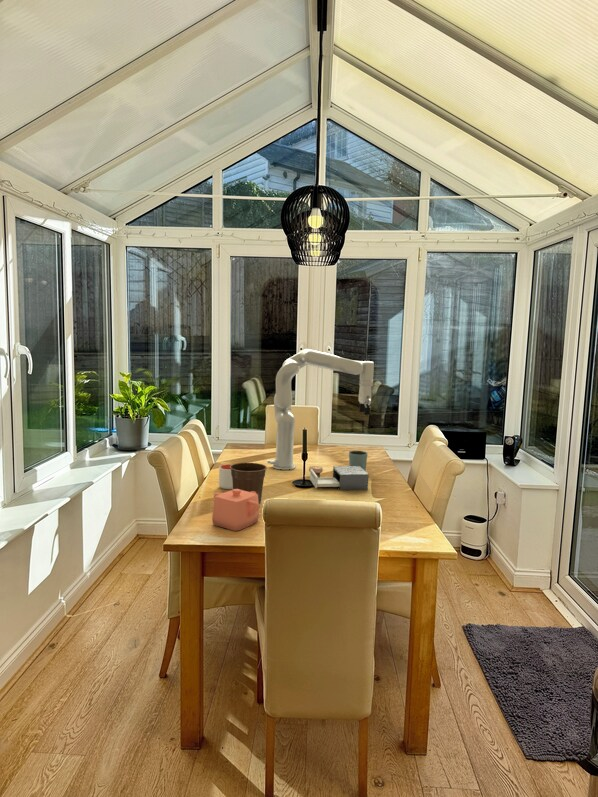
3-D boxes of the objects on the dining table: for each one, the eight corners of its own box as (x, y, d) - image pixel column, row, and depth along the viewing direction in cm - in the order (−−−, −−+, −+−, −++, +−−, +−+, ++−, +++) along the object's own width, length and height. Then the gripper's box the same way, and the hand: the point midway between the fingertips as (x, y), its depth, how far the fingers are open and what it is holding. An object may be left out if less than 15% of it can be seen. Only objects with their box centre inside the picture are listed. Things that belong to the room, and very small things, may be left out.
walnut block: (312, 479, 281) (312, 472, 281) (310, 477, 285) (311, 470, 285) (319, 479, 282) (320, 472, 282) (318, 477, 286) (318, 470, 286)
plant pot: (241, 494, 253) (242, 460, 251) (272, 500, 246) (273, 465, 244) (221, 503, 238) (222, 467, 236) (253, 510, 231) (254, 473, 229)
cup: (223, 491, 257) (223, 470, 255) (216, 485, 265) (216, 465, 264) (242, 489, 261) (243, 468, 260) (235, 483, 270) (235, 463, 269)
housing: (340, 490, 265) (340, 474, 264) (332, 481, 280) (333, 466, 279) (367, 490, 267) (368, 474, 266) (358, 481, 283) (359, 466, 282)
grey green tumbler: (365, 477, 291) (366, 455, 289) (346, 475, 293) (347, 453, 291) (367, 472, 301) (368, 451, 299) (348, 470, 303) (349, 449, 301)
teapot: (246, 536, 203) (247, 500, 201) (201, 523, 214) (202, 488, 212) (276, 521, 219) (277, 487, 218) (233, 510, 231) (234, 478, 229)
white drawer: (315, 487, 263) (315, 476, 262) (309, 479, 277) (310, 468, 277) (342, 487, 265) (343, 476, 264) (335, 479, 280) (335, 468, 279)
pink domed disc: (310, 473, 279) (310, 469, 279) (307, 469, 286) (307, 465, 286) (323, 473, 280) (323, 469, 280) (320, 469, 287) (321, 465, 287)
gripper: (355, 381, 314) (354, 410, 316) (364, 384, 297) (362, 415, 300) (368, 381, 316) (366, 410, 318) (377, 384, 299) (375, 415, 301)
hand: (364, 413), depth 309 cm, fingers open, 9 cm apart
